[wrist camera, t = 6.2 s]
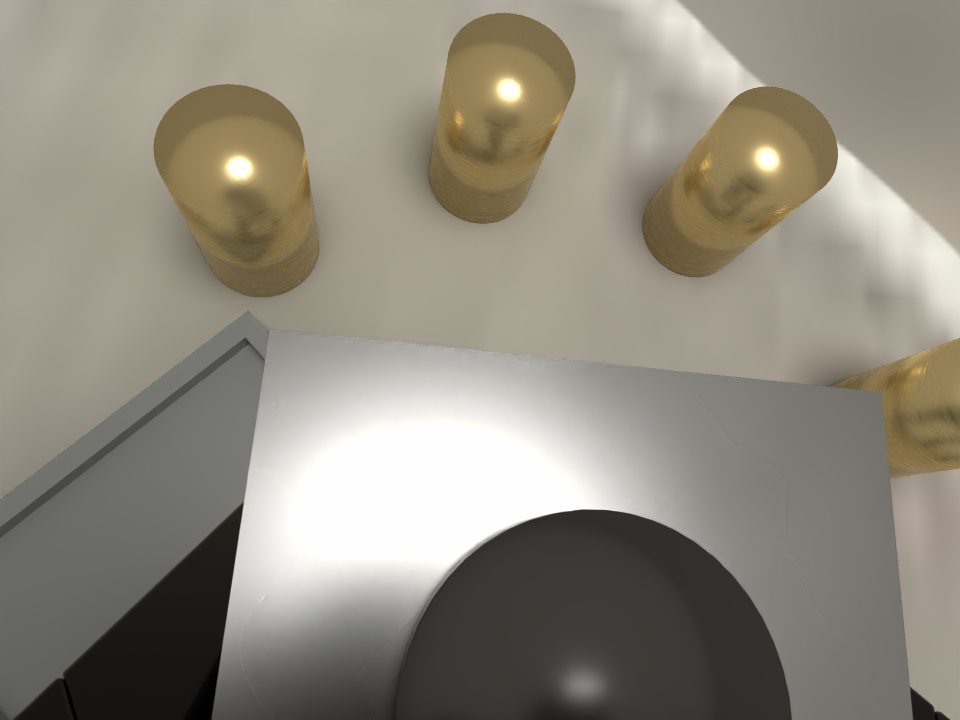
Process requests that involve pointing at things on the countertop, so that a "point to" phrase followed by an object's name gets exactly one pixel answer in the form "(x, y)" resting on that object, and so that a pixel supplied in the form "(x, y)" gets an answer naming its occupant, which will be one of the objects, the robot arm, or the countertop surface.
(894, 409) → the cylinder
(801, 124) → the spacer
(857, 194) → the countertop surface
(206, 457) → the tray
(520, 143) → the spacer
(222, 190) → the cylinder
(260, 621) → the pillar with dark dome
